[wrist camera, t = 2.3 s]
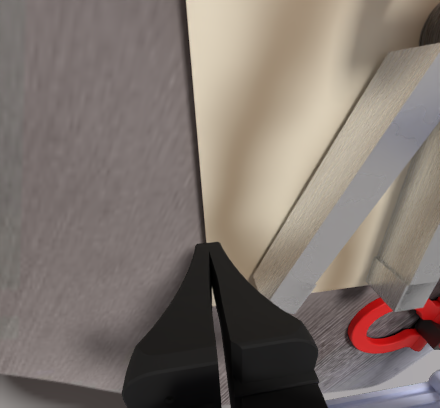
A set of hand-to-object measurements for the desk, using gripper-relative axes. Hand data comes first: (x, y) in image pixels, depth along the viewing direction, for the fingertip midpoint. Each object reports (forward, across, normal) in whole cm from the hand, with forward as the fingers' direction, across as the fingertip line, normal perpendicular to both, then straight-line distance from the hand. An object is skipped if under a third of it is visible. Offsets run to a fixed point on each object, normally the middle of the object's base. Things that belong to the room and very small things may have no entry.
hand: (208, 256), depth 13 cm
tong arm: (+1, -7, -3) cm, 8 cm away
